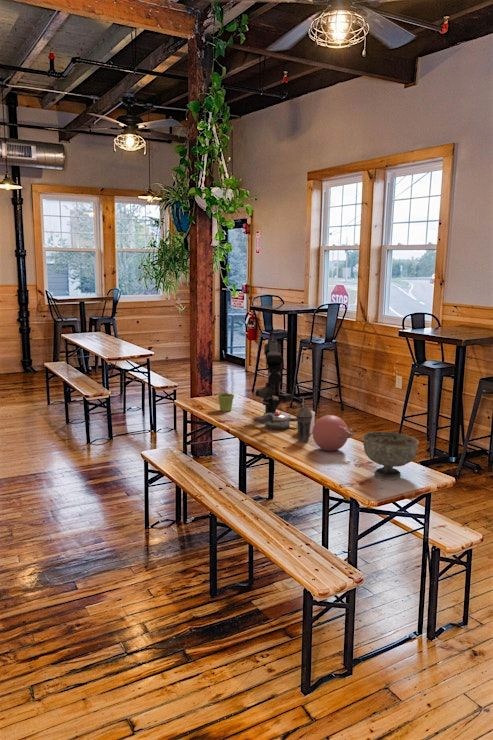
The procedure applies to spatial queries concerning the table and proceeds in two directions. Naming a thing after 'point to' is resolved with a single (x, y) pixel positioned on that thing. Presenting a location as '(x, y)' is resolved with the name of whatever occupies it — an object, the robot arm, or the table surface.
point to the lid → (274, 417)
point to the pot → (278, 424)
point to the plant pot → (225, 402)
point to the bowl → (389, 452)
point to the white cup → (312, 422)
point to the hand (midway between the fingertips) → (273, 412)
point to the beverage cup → (304, 423)
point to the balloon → (331, 433)
